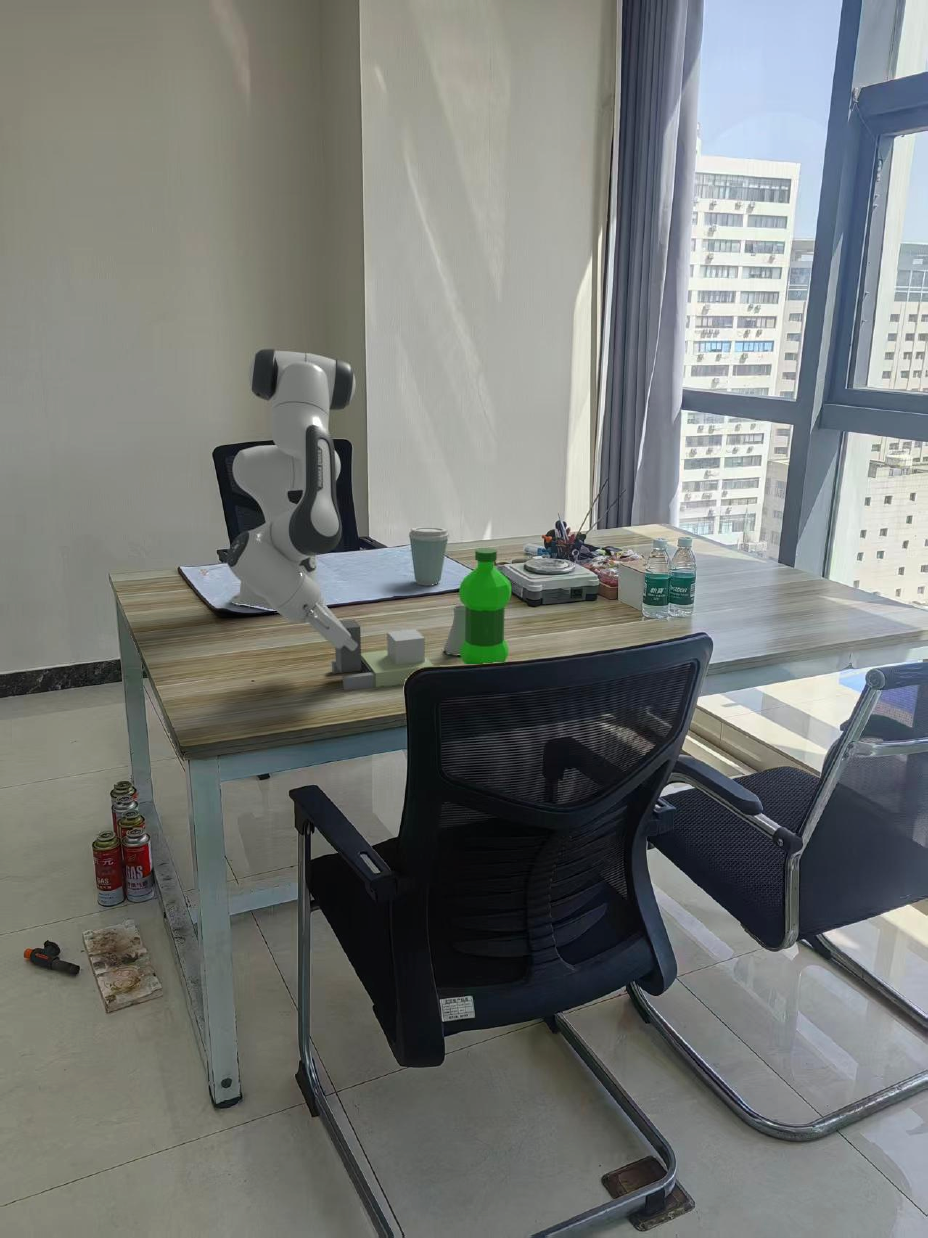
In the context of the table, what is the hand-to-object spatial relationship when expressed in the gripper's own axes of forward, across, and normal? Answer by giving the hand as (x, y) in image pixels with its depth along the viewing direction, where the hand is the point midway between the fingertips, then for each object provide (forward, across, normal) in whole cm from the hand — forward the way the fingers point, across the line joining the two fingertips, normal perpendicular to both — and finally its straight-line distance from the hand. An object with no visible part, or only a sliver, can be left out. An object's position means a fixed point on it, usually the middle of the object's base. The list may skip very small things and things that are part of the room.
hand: (350, 642), depth 193 cm
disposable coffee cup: (+32, +62, -21) cm, 73 cm away
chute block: (+3, 0, +4) cm, 5 cm away
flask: (+24, +8, -13) cm, 29 cm away
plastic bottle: (+25, -4, -13) cm, 28 cm away
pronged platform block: (+11, 0, 0) cm, 11 cm away
